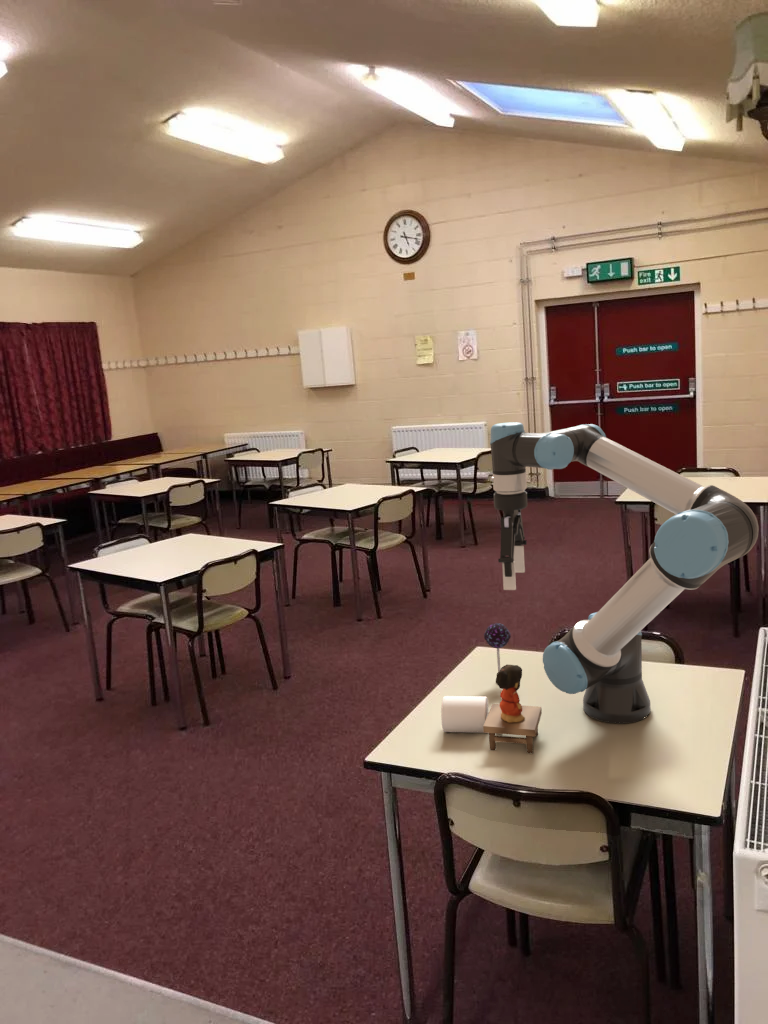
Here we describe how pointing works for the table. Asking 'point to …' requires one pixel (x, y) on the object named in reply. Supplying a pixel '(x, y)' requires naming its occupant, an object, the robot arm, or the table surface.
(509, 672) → the figurine
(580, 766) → the table surface
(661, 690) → the table surface
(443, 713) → the mug
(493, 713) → the tan legged square part
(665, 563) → the robot arm
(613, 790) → the table surface
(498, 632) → the lollipop
